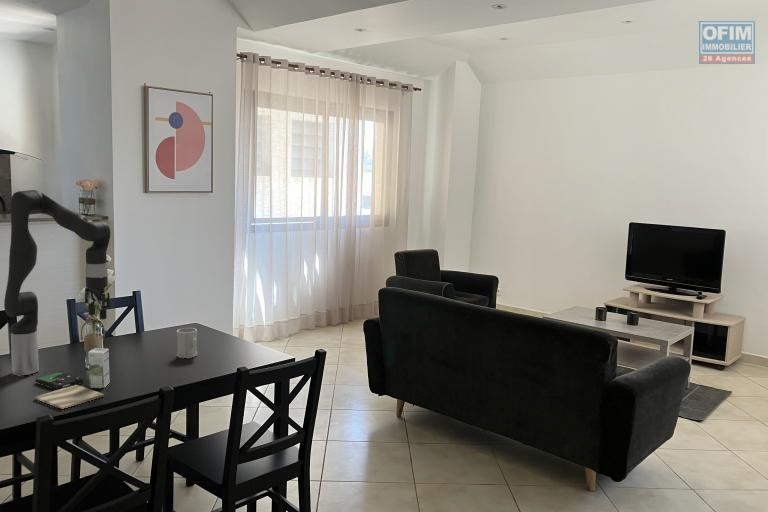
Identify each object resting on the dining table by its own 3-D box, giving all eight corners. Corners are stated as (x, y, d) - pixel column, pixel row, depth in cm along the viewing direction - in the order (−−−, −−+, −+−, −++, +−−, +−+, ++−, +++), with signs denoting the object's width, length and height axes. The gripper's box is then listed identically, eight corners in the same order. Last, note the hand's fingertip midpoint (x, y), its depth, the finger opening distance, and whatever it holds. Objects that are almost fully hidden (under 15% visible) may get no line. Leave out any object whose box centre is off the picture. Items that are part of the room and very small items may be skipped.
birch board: (34, 399, 223) (34, 396, 223) (76, 387, 237) (76, 384, 237) (62, 410, 215) (61, 407, 214) (104, 397, 228) (103, 394, 228)
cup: (203, 353, 285) (203, 328, 283) (196, 359, 276) (195, 333, 274) (182, 352, 286) (181, 327, 284) (173, 358, 277) (173, 332, 275)
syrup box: (110, 383, 242) (109, 347, 240) (104, 389, 236) (102, 352, 234) (95, 383, 242) (94, 347, 240) (88, 388, 236) (87, 351, 234)
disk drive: (84, 384, 242) (59, 377, 249) (83, 377, 242) (59, 370, 249) (59, 392, 233) (34, 384, 240) (59, 385, 233) (34, 377, 239)
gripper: (77, 273, 234) (78, 315, 236) (96, 278, 225) (97, 322, 227) (97, 271, 240) (97, 312, 242) (116, 276, 231) (116, 318, 233)
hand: (97, 316), depth 235 cm, fingers open, 8 cm apart
